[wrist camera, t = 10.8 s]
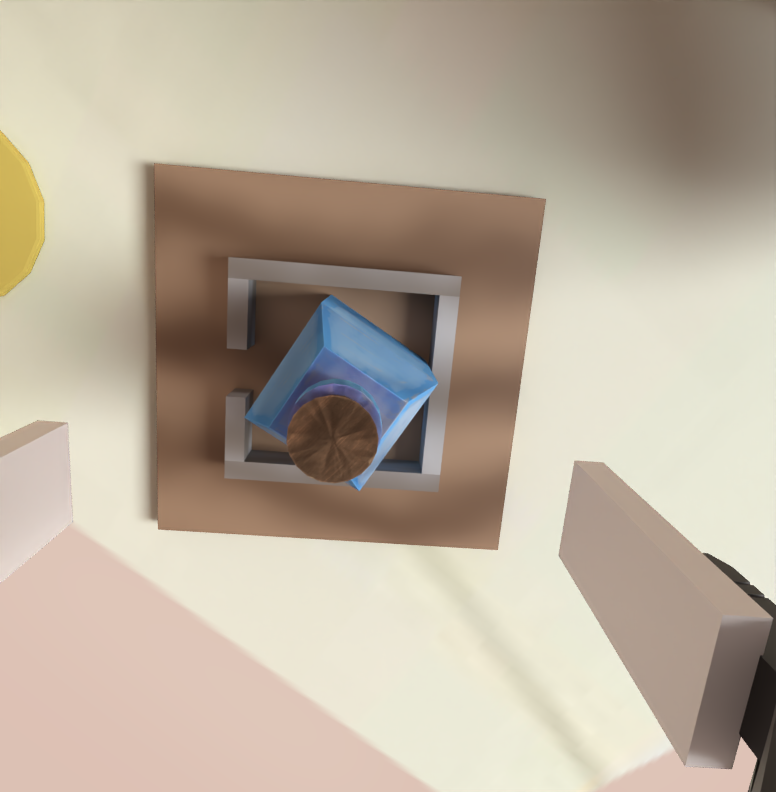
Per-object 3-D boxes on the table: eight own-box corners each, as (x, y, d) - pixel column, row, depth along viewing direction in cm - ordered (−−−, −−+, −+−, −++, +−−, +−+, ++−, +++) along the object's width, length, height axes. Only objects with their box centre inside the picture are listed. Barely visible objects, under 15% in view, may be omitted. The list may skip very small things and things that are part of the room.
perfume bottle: (331, 294, 30) (306, 313, 18) (425, 359, 31) (458, 418, 19) (268, 388, 31) (207, 462, 19) (361, 448, 32) (356, 553, 20)
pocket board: (161, 166, 29) (138, 155, 26) (540, 201, 30) (558, 194, 27) (164, 521, 34) (144, 546, 31) (494, 541, 35) (505, 567, 32)
